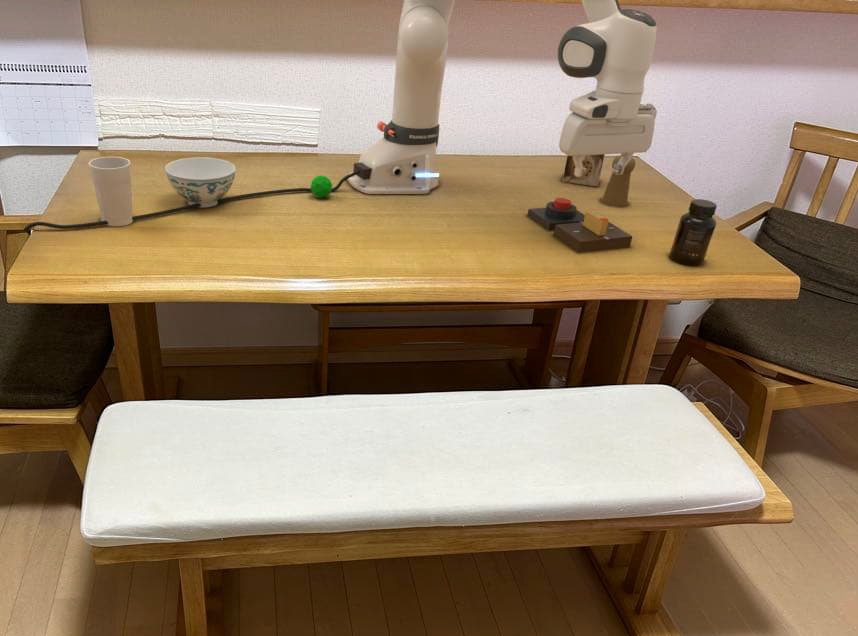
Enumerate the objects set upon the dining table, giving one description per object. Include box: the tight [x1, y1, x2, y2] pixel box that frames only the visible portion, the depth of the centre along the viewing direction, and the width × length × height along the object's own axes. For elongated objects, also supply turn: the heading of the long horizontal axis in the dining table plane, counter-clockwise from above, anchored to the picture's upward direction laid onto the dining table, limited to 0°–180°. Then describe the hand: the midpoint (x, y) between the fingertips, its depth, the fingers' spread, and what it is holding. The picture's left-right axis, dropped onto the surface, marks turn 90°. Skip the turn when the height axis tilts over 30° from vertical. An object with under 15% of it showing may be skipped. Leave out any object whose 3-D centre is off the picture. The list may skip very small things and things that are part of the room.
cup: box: [88, 156, 134, 227], centre depth 153 cm, size 8×8×12 cm
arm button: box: [553, 197, 572, 210], centre depth 168 cm, size 4×4×2 cm
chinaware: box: [164, 156, 237, 209], centre depth 165 cm, size 15×15×8 cm
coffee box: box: [561, 154, 606, 187], centre depth 190 cm, size 9×6×16 cm
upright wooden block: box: [583, 210, 610, 236], centre depth 158 cm, size 6×2×3 cm, turn 21°
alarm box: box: [526, 201, 585, 231], centre depth 169 cm, size 11×9×4 cm
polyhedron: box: [310, 175, 333, 199], centre depth 173 cm, size 5×5×5 cm
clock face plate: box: [553, 221, 633, 254], centre depth 160 cm, size 13×10×3 cm
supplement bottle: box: [669, 198, 717, 267], centre depth 152 cm, size 7×7×12 cm
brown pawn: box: [601, 155, 636, 208], centre depth 179 cm, size 6×6×11 cm
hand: (598, 174), depth 154 cm, fingers open, 8 cm apart
